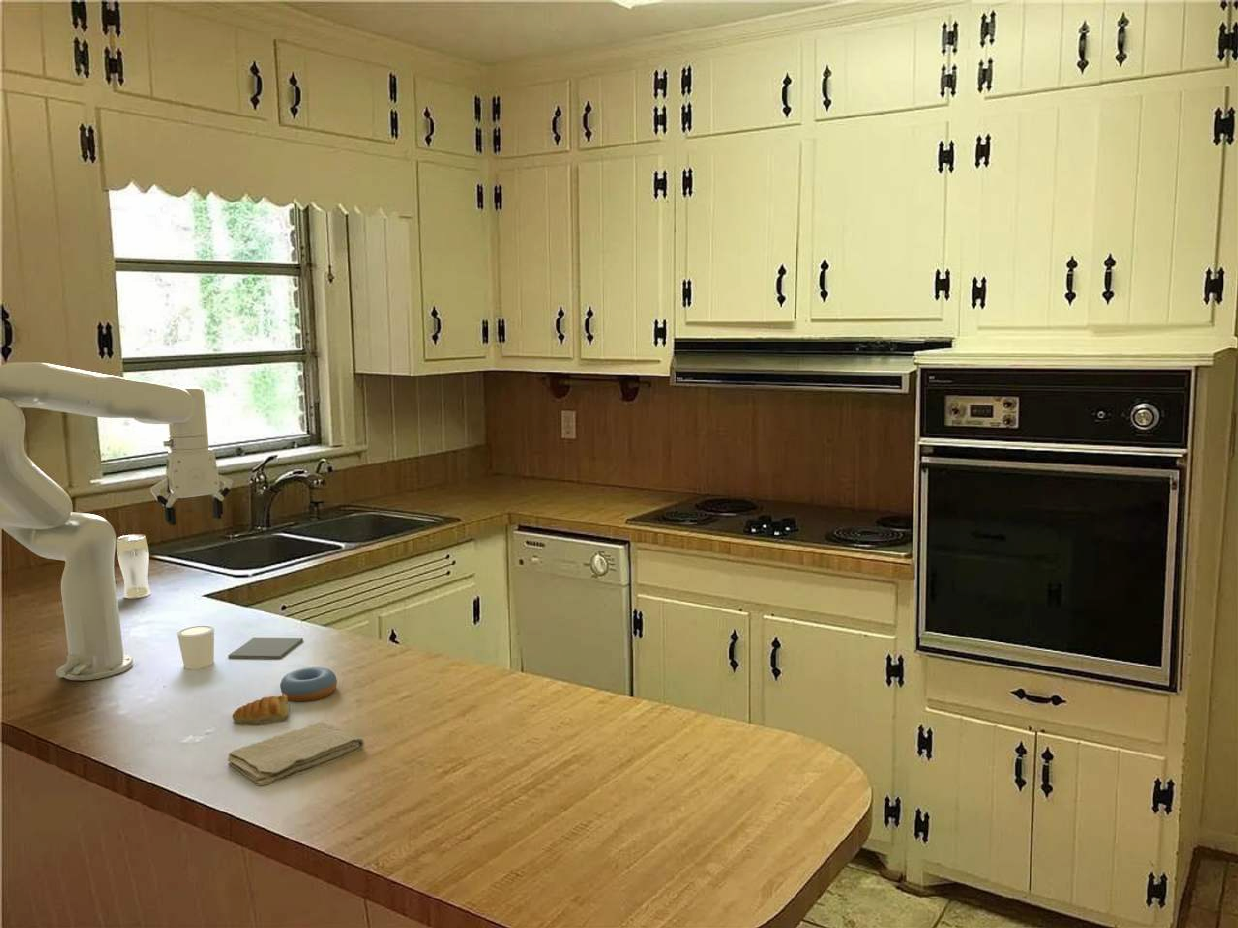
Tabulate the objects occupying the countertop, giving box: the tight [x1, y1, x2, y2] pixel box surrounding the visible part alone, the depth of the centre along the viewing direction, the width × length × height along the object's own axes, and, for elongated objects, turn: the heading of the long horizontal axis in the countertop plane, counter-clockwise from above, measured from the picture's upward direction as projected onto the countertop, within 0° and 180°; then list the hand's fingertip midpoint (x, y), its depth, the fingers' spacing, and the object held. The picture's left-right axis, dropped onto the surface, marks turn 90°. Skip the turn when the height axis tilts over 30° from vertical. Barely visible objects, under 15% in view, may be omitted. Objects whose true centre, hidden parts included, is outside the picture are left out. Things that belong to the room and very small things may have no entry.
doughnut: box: [279, 666, 338, 702], centre depth 186 cm, size 10×10×5 cm
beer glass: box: [116, 533, 152, 600], centre depth 252 cm, size 7×7×15 cm
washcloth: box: [227, 721, 365, 787], centre depth 159 cm, size 12×18×3 cm, turn 138°
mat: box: [228, 637, 304, 660], centre depth 210 cm, size 11×11×1 cm
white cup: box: [176, 625, 215, 670], centre depth 202 cm, size 7×7×7 cm
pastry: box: [232, 694, 291, 726], centre depth 175 cm, size 9×7×4 cm
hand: (195, 521), depth 221 cm, fingers open, 9 cm apart
